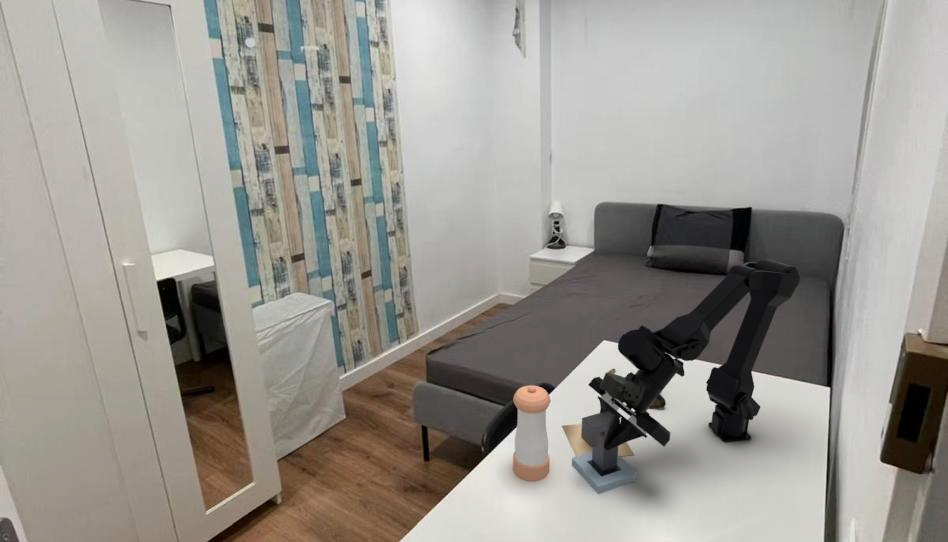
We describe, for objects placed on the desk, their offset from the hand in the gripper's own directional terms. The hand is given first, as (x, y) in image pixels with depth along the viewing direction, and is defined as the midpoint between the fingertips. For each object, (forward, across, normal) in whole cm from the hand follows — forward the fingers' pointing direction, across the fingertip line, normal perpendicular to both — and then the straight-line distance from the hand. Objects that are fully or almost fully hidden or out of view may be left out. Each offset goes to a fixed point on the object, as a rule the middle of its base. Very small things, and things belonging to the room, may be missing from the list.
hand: (599, 443), depth 98 cm
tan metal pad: (+1, -9, +10) cm, 13 cm away
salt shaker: (+14, -7, -2) cm, 15 cm away
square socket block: (+4, 0, +6) cm, 8 cm away
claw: (-13, -23, +25) cm, 36 cm away
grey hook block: (+5, 0, +5) cm, 7 cm away
